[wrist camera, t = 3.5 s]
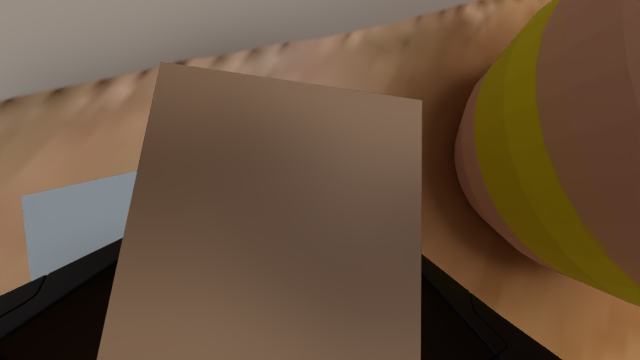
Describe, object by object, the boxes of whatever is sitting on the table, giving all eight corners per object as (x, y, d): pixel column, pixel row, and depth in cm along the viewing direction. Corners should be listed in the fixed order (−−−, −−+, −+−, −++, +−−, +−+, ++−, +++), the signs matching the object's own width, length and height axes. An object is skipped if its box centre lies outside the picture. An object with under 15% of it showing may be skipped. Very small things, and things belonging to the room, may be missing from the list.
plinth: (196, 272, 18) (178, 283, 15) (81, 306, 17) (36, 326, 14) (177, 174, 19) (156, 166, 16) (66, 199, 17) (20, 196, 15)
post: (321, 254, 19) (420, 375, 5) (248, 249, 19) (93, 374, 4) (326, 184, 20) (422, 100, 6) (257, 177, 20) (160, 61, 5)
